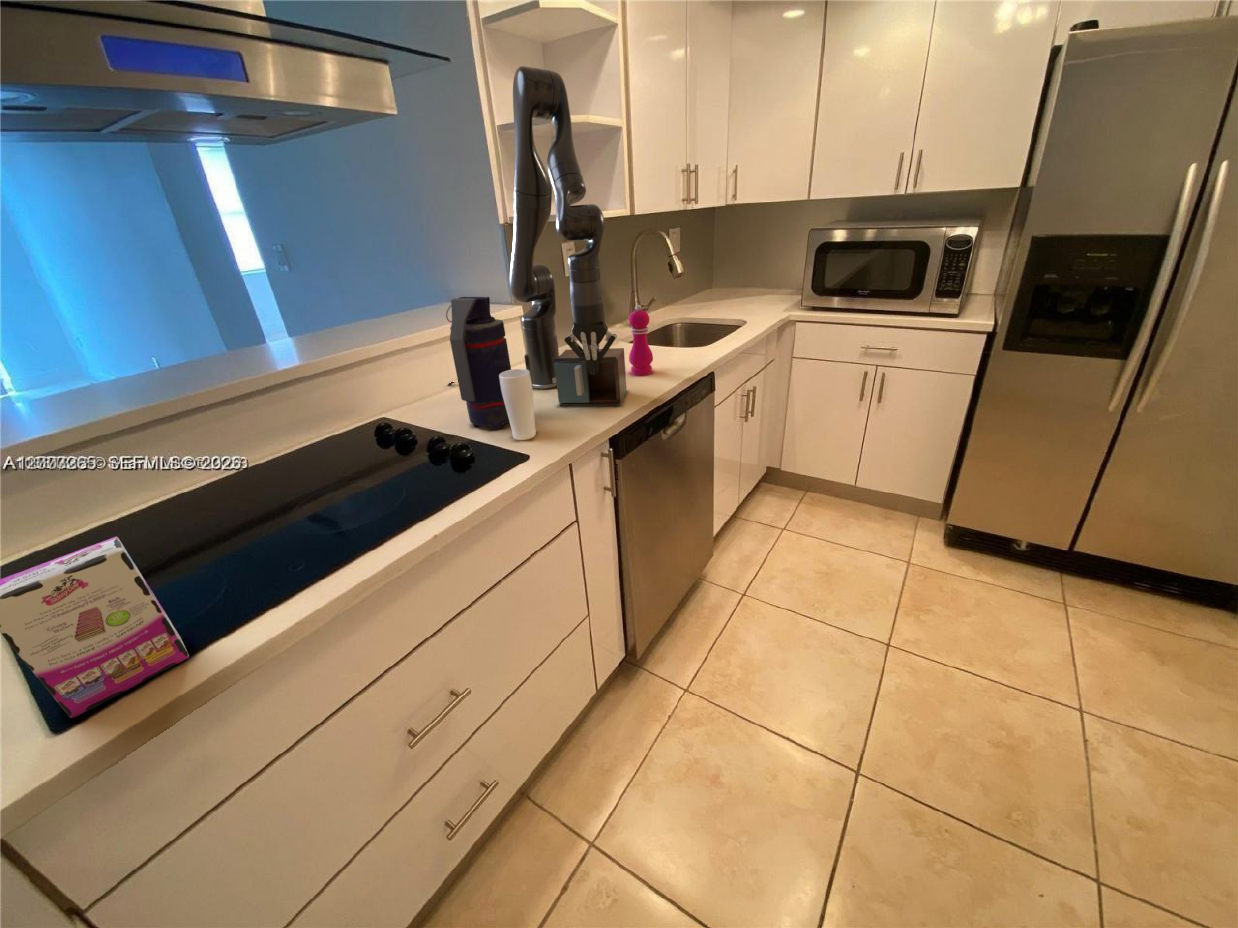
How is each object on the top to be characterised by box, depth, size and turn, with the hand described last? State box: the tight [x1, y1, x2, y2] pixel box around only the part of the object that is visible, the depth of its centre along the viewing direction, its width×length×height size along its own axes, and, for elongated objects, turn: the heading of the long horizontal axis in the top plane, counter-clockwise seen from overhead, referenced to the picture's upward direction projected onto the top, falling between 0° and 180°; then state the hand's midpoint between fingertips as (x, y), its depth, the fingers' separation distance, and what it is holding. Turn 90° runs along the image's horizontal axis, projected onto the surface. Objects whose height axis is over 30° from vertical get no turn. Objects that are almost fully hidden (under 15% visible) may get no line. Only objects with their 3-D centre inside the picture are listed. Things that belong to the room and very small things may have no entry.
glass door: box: [554, 363, 589, 404], centre depth 132 cm, size 8×4×10 cm, turn 80°
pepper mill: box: [628, 304, 654, 377], centre depth 154 cm, size 7×7×20 cm
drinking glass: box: [499, 368, 537, 441], centre depth 116 cm, size 7×7×15 cm
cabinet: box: [554, 347, 628, 408], centre depth 137 cm, size 16×12×13 cm
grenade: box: [445, 296, 512, 430], centre depth 122 cm, size 14×12×30 cm
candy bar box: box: [0, 535, 190, 719], centre depth 58 cm, size 11×5×16 cm, turn 138°
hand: (593, 373), depth 128 cm, fingers closed
